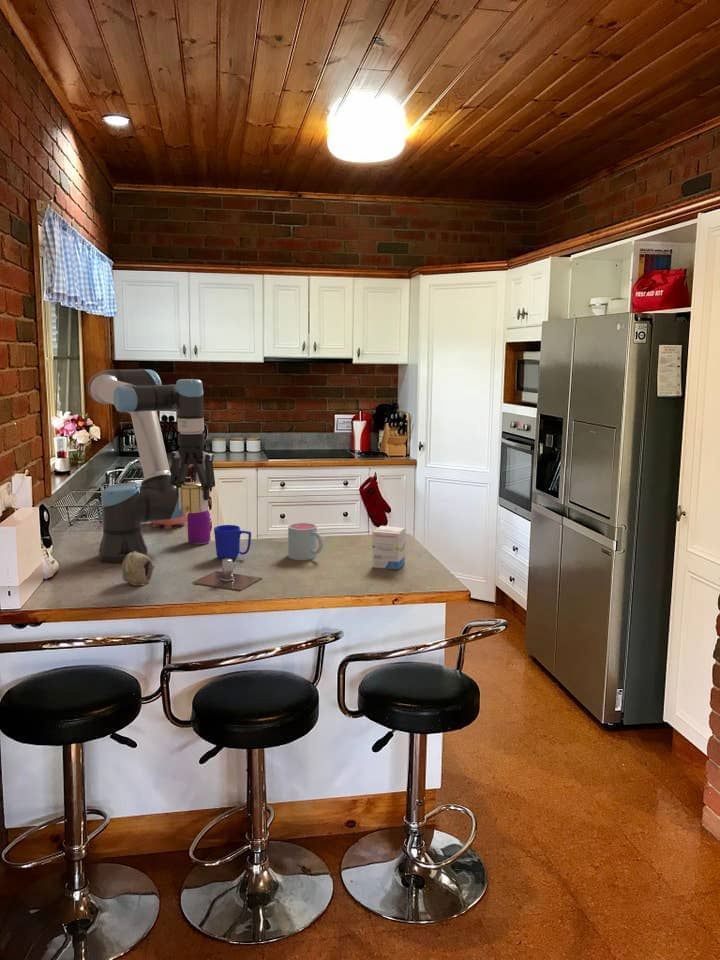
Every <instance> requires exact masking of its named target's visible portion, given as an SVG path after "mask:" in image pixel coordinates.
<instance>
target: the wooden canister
mask: <svg viewBox="0 0 720 960" xmlns="http://www.w3.org/2000/svg"><path fill="white" fill-rule="evenodd" d="M201 488H202V486H201V483H200V481H191V482H189V481H188V482H184V483H182V484H181V487H180V491H181V511H182V512H184V513H200V512H201V511H200V490H201Z"/></svg>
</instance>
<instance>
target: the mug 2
mask: <svg viewBox="0 0 720 960" xmlns="http://www.w3.org/2000/svg"><path fill="white" fill-rule="evenodd" d="M287 527H288V529H287V534H288V535H287V536H288V537H287V539H288V541H287V545H288V547H287V553H288V554H287V557H288V558H289V559H291V560H294V561H295V560H296V561H310V560H313V559H315V558H317V557H318V556H317V555H319V554H320V553H321V552H322V551H323V547H324V541H323V538H322V537H321V535H320V534H319V533H318V529H317V527H318V526H317V525H316V523H315V524H314V523H310V522H297V523H291V524H289V525H288V526H287ZM317 540H318V541H317ZM318 542H319V545H318V544H317V543H318ZM317 546H318V548H317Z"/></svg>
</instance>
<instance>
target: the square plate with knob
mask: <svg viewBox="0 0 720 960" xmlns="http://www.w3.org/2000/svg"><path fill="white" fill-rule="evenodd" d="M233 565H234V564H233V559H223V560H221V571H217V570H214V571H213V572H210V573H208V574H207V575H204V576H202V577H200V578H198V579H196V580H194V581H192V583H195V584H194V585H199V584H202V585H201V586H205V585H208V587H212V586H213V588H220V589H225V590H232V591H233V590H234V591H238V592H241V591H243V590H245V589H247V588H248V587H250V586H252V585H253V584H255V583H257V582H259V581H262V580H263V577H260V576H253V575H245V574H240V573H239V574H238V573H233V570H234V567H233Z"/></svg>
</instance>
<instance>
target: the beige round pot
mask: <svg viewBox="0 0 720 960" xmlns="http://www.w3.org/2000/svg"><path fill="white" fill-rule="evenodd" d="M154 569H155V565H154V564H153V562H152V560H151V558H150V557H149V556H148V555H147V556H146V555H144V554H141V553H138V552H135V551H134V552H133V553H129V554H128V555H127V556H126V557H125V558H124V560H123V563H121V572H122V576H121V580H122V581H123V582H126V583H128V584H130V585H131V586H146V585H147V584H148V583H149V582H150V580H151V579H152V576H153V571H154Z"/></svg>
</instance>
